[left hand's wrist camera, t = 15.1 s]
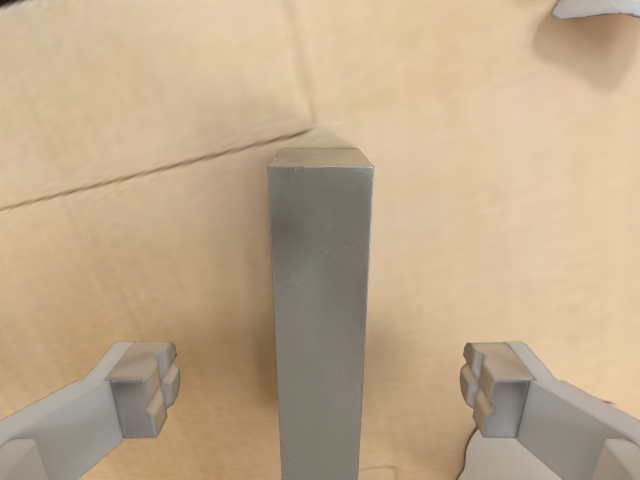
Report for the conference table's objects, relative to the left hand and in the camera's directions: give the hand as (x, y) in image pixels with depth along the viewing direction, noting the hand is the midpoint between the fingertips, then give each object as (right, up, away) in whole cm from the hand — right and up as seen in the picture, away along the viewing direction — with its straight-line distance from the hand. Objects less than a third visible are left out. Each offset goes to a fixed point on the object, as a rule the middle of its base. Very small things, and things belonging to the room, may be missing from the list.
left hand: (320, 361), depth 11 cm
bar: (0, -1, +23) cm, 23 cm away
